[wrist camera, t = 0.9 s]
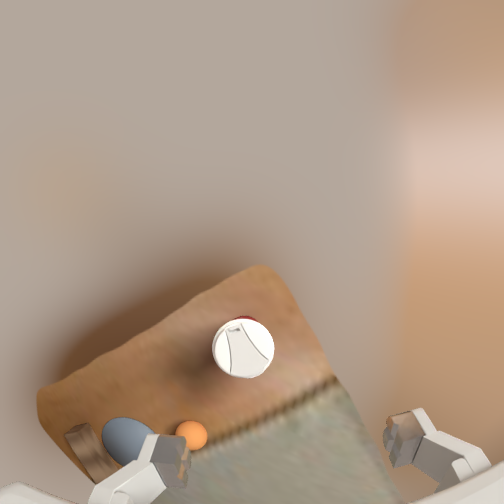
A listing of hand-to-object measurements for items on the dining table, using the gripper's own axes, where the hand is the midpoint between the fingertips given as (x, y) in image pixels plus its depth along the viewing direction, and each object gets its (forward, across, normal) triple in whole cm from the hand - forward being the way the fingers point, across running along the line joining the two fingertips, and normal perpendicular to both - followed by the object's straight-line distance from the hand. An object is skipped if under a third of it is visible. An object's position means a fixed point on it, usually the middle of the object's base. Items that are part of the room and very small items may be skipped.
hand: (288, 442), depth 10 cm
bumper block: (+27, -37, -38) cm, 60 cm away
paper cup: (+37, -4, -15) cm, 40 cm away
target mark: (+28, -28, -35) cm, 53 cm away
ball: (+28, -15, -30) cm, 44 cm away
